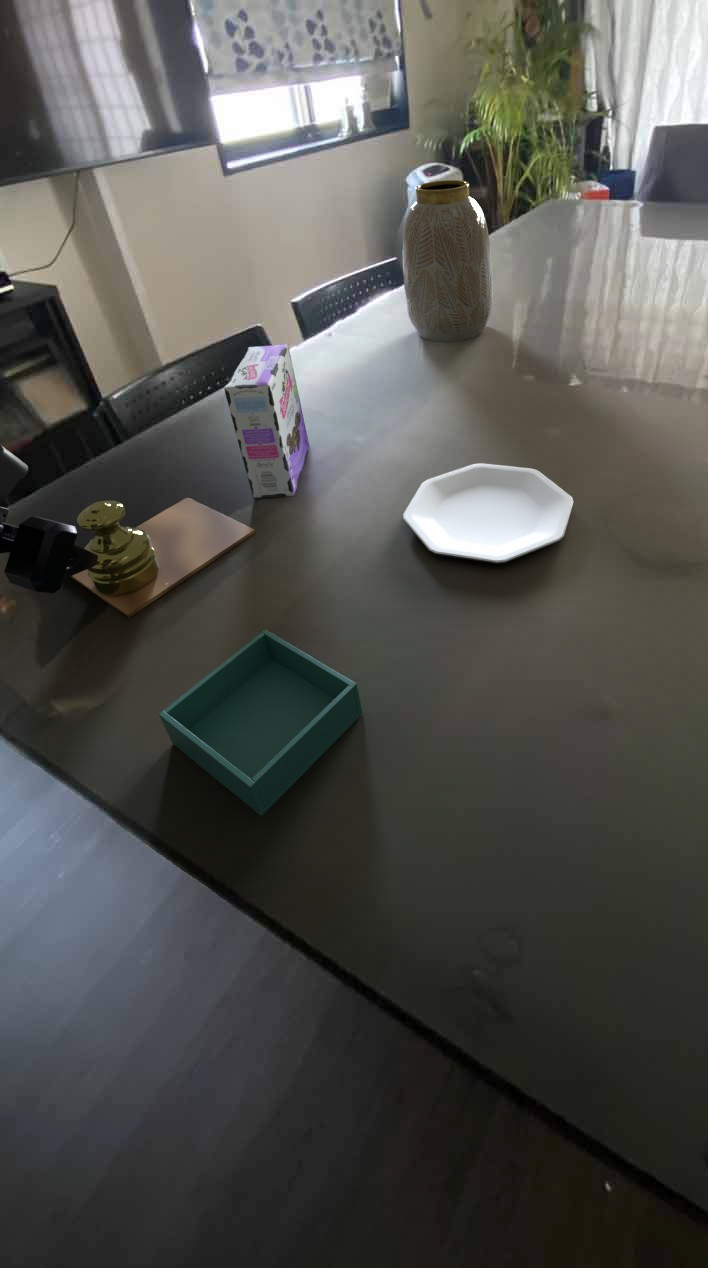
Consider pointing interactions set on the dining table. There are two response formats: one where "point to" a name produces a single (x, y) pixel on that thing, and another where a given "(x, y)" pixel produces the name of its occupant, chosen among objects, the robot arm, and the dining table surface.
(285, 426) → the candy box
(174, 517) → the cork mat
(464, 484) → the plate
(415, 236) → the vase
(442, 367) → the dining table surface
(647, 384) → the dining table surface
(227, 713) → the storage box
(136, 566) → the brass door knob
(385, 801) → the dining table surface
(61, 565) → the robot arm
